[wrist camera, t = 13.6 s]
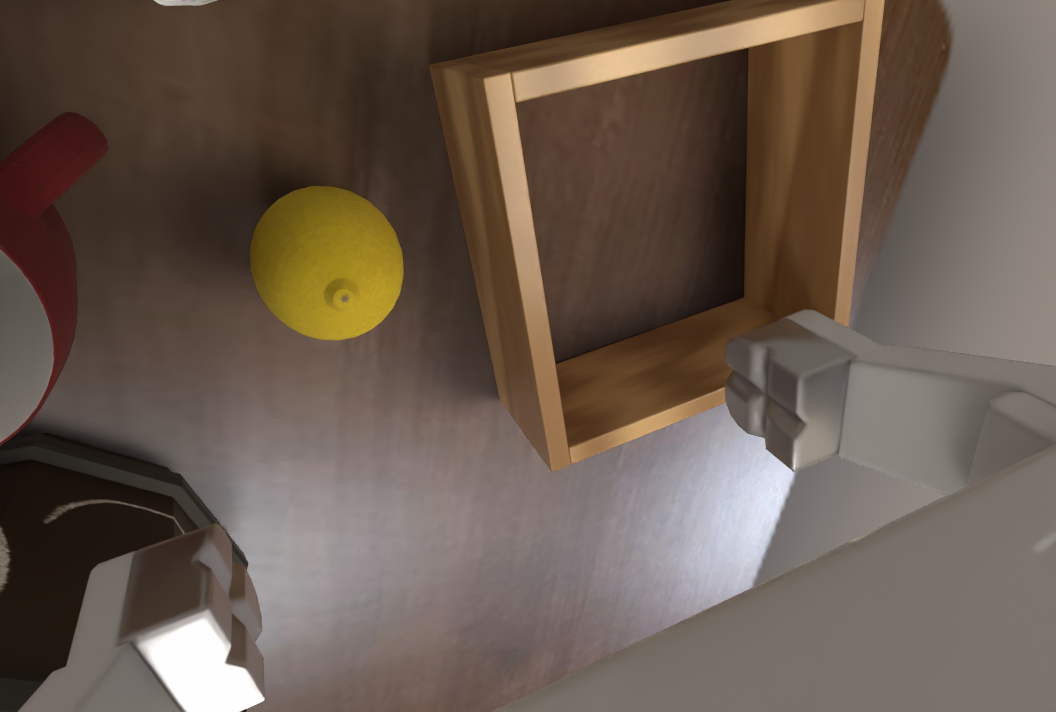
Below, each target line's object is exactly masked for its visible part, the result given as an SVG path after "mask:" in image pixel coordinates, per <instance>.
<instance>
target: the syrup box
mask: <svg viewBox="0 0 1056 712" xmlns="http://www.w3.org/2000/svg"><path fill="white" fill-rule="evenodd" d="M154 1H155V2H157V3H158V4H161V5H164V6H177V5H204V4H207V3H210V2H214V1H217V0H154Z"/></svg>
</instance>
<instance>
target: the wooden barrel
mask: <svg viewBox="0 0 1056 712" xmlns="http://www.w3.org/2000/svg"><path fill="white" fill-rule="evenodd" d="M215 523H216V524H218V525H220V523H219V522H218V521H217V520H216V518H215V517H214V516H213V515H212V513H211V512H210V511H209V510H208V508H207V507H206V506H205V505H204V503H203V502H202V501H201V500H200V498H199V497H198V496H197V495H196V493H195V492H194V491H193V490H192V488H191V487H190V486H189V485H188V483H187V482H186V481H185V480H184V478H183V477H182V476H181V475H180V474H177V473H173V472H171V471H170V470H169V469H168V468H167V467H163V466H160V465H156V464H153V463H149V462H146V461H142V460H139V459H136V458H132V457H129V456H125V455H122V454H118V453H115V452H111V451H108V450H104V449H101V448H97V447H94V446H91V445H87V444H84V443H80V442H77V441H73V440H70V439H66V438H63V437H59V436H56V435H52V434H49V433H45V434H37V435H31V436H26V437H20V438H14V439H9V440H8V441H7V442H5V443H4V444H2V445H1V446H0V712H18V711H19V710H20V708H21V707H22V706H23V705H24V704H25V703H26V702H27V700H28V699H29V698H30V697H31V696H32V695H33V694H34V692H35V691H36V690H37V689H38V688H39V687H40V686H41V685H42V683H43V682H44V681H45V680H46V679H47V678H48V677H49V675H50V674H51V673H52V672H54V671H56V670H59V669H61V668H64V667H66V664H67V661H68V657H69V653H70V649H71V645H72V641H73V637H74V634H75V630H76V626H77V622H78V618H79V614H80V610H81V606H82V603H83V599H84V595H85V591H86V587H87V583H88V579H89V576H90V573H91V571H92V570H93V569H94V568H95V567H96V566H97V565H98V564H99V563H102V562H105V561H108V560H111V559H113V558H116V557H119V556H122V555H125V554H128V553H130V552H133V551H138V550H139V549H141V548H144V547H147V546H150V545H153V544H156V543H159V542H162V541H165V540H168V539H171V538H174V537H177V536H180V535H183V534H186V533H189V532H192V531H195V530H198V529H200V528H203V527H206V526H209V525H212V524H215ZM220 526H221V525H220ZM221 527H222V526H221ZM222 528H223V527H222ZM223 530H224V528H223ZM224 531H225V530H224ZM225 533H226V535H227V536H228V538H229V540H230V541H231V543H232V561H233V562H235V563H238V564H240V565H243V566H244V567H245V569H246V571H247V567H248V562H247V560H246V558H245V556H244V554H243V552H242V551H241V550H240V549H239V547H238V546H237V545H236V544H235V542H234V541H233V540H232V539H231V537H230V536H229V535H228V533H227V532H226V531H225ZM246 710H247V709H245V710H243V711H241V712H246Z"/></svg>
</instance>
